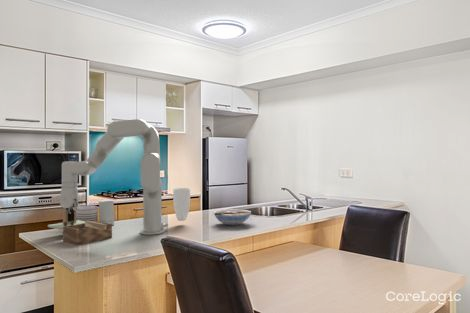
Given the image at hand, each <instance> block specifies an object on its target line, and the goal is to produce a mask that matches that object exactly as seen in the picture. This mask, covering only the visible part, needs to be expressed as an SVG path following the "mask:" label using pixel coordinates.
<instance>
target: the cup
mask: <svg viewBox="0 0 470 313" xmlns="http://www.w3.org/2000/svg"><path fill="white" fill-rule="evenodd" d="M172 190H173V192H172V193H173V195H172V197H173V198H172V199H173V202H172V203H173V209H174V213H175V216H176V219H177V221H180V222H181V221H182V222H184V221H186V220H187V218H188V215H189V211H190V208H191V189H190V187H176V188H173V189H172Z"/></svg>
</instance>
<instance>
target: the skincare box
mask: <svg viewBox="0 0 470 313" xmlns="http://www.w3.org/2000/svg"><path fill="white" fill-rule="evenodd" d="M114 201H115V200H114V199H101V200H98V214H99V215H98V216H99V222H105V223H110V224H112V226H115V211H114V210H115V207H114V205H115V204H114Z"/></svg>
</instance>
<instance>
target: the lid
mask: <svg viewBox="0 0 470 313" xmlns="http://www.w3.org/2000/svg"><path fill="white" fill-rule="evenodd" d="M68 214H69V210H65V211H64V210H62V222H58V223H53V224H52V223H51V224H47V228H50V229H55V230H59V231H60V230H63V227H64V222H67V226H70V225H71V221H70V222H68ZM82 223H85V221H80V220H77V221H76V210H75V213H74V225H76V224H82Z"/></svg>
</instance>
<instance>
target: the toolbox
mask: <svg viewBox="0 0 470 313" xmlns="http://www.w3.org/2000/svg"><path fill="white" fill-rule="evenodd" d="M94 222H97V223H103V224H106V230H100V229H95V228H90V227H85V223H82V224H76V225H74V221H71V225H70V226H67V222H64V227H63V229H62V242H65V243H68V244H71V245H72V244H73V245H75V246H80V245H85V244H88V243H89V244H90V243H94V242H98V241H103V240H108V239H112V238H113V225H112V224H110V223H105V222H100V220H98V221H94Z"/></svg>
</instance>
